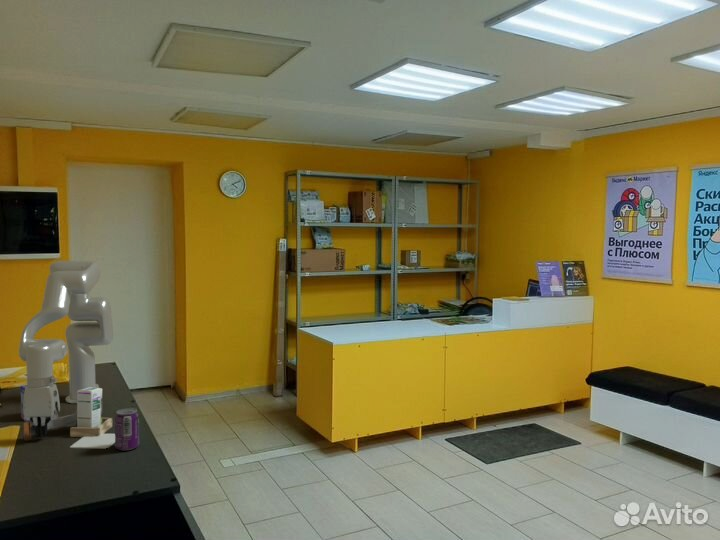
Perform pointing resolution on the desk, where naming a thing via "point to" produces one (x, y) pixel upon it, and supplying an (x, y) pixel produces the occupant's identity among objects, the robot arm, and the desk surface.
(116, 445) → the beverage can
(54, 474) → the desk surface
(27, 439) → the lever
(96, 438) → the mat
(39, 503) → the desk surface
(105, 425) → the cradle
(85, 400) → the syrup box
